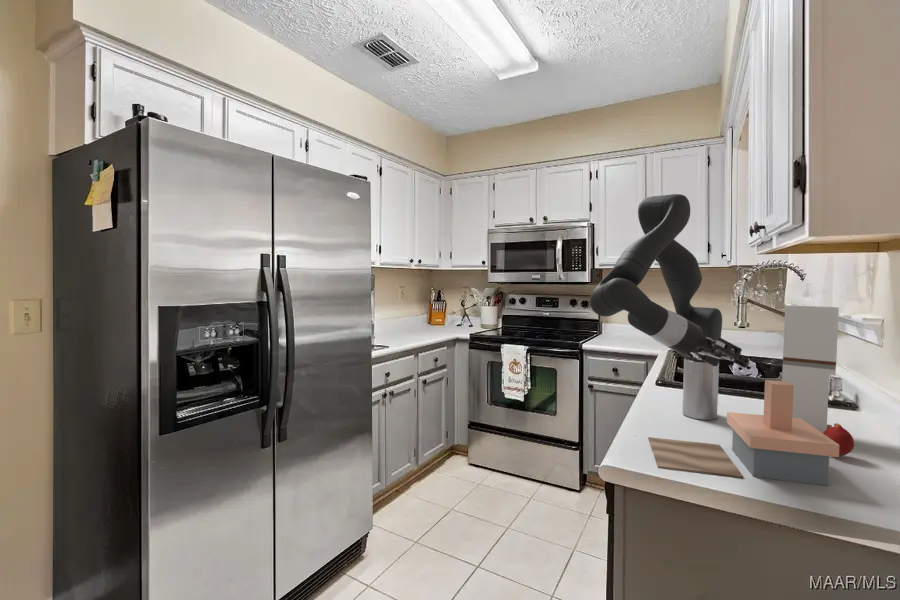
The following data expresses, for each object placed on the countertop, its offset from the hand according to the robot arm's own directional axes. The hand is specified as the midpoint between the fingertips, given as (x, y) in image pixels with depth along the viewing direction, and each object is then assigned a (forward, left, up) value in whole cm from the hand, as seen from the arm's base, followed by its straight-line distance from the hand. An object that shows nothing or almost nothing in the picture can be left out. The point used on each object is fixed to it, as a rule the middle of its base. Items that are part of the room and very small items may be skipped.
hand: (731, 363), depth 100 cm
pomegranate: (-10, +25, -23) cm, 35 cm away
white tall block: (-26, +25, -23) cm, 43 cm away
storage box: (+1, +9, -23) cm, 24 cm away
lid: (+1, +9, -16) cm, 18 cm away
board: (+1, -8, -23) cm, 24 cm away
